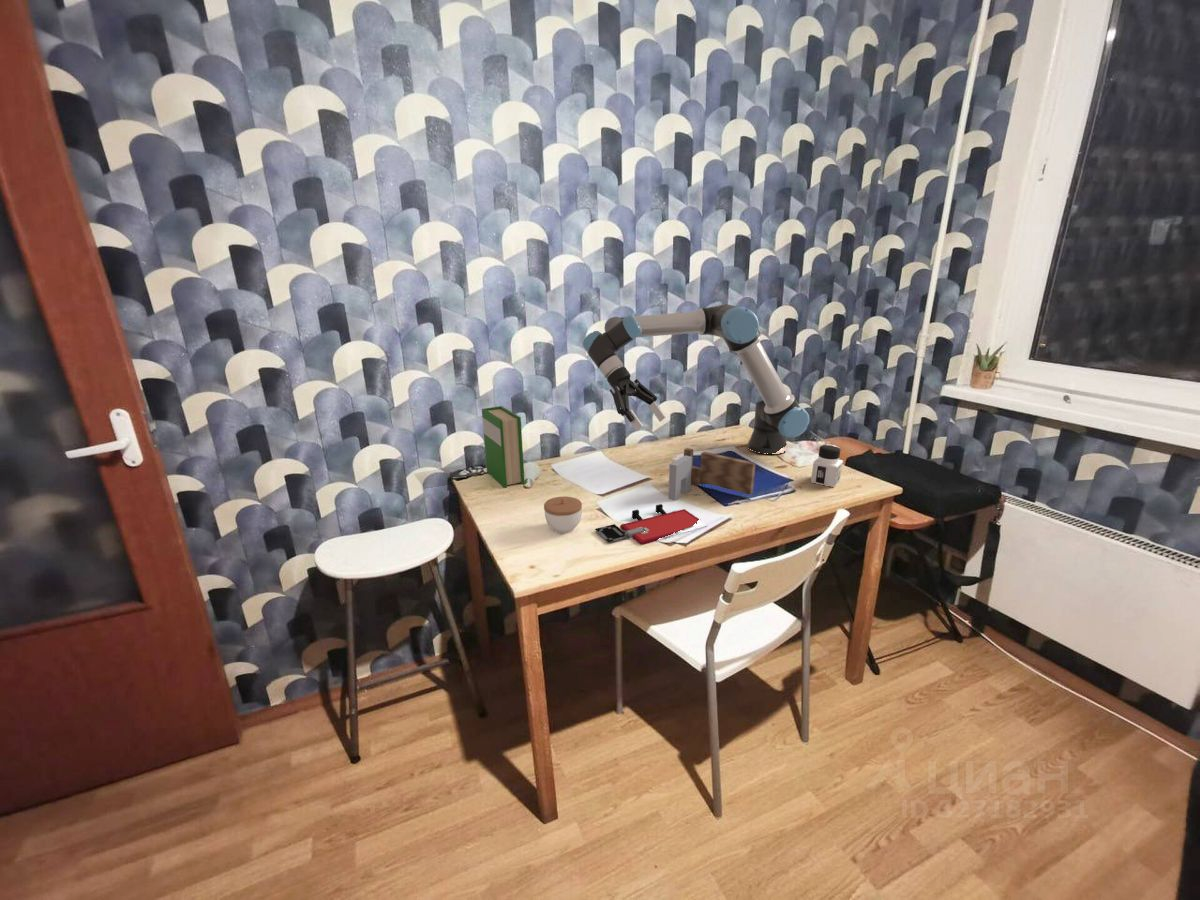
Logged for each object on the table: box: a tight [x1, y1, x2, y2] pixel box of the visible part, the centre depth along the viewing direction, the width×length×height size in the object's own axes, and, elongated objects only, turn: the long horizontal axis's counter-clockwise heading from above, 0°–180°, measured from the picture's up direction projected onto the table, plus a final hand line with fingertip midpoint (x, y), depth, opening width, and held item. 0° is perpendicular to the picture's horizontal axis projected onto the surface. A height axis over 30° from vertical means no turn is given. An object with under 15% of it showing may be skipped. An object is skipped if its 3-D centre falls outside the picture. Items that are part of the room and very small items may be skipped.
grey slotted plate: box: [667, 455, 692, 502], centre depth 173 cm, size 2×10×12 cm, turn 142°
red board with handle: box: [594, 503, 700, 546], centre depth 153 cm, size 30×3×15 cm
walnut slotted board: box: [683, 447, 756, 495], centre depth 176 cm, size 24×2×12 cm, turn 52°
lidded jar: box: [543, 495, 583, 534], centre depth 152 cm, size 11×11×9 cm
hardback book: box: [481, 405, 526, 489], centre depth 186 cm, size 18×7×24 cm, turn 31°
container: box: [810, 444, 844, 488], centre depth 182 cm, size 8×8×13 cm
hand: (651, 424), depth 174 cm, fingers open, 13 cm apart
